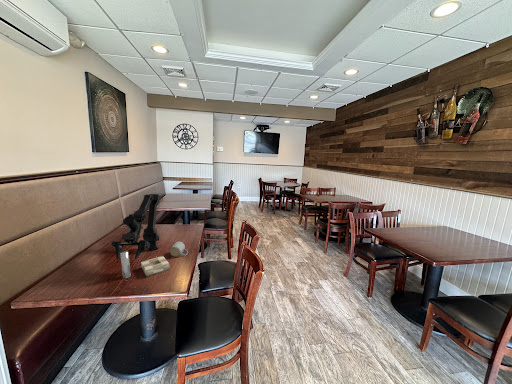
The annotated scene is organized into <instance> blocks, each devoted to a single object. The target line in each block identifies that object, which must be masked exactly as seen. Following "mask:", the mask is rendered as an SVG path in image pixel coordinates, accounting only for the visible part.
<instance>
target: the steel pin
mask: <svg viewBox="0 0 512 384" xmlns="http://www.w3.org/2000/svg"><path fill="white" fill-rule="evenodd" d="M120 254H121V255H120V263H121V273H122V278H123V279H128V278H130V277H131V275H132V274H131V265H130V264H131V263H130V255H129V254H130V253H129V250H122V252H121V253H120Z"/></svg>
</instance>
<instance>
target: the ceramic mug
mask: <svg viewBox="0 0 512 384" xmlns="http://www.w3.org/2000/svg"><path fill="white" fill-rule="evenodd" d="M183 252H185V253H183ZM169 253H170V255H171V256H172V257H176V258H177V257H179V256H180V255H181V256H184V257H185V256H187V255H188V254H189V251H188V250H187V248H186V245H185V244H184V242H182V241H179V240H178V241H176V242H174V244H173V245H172V246H171V247H170V250H169Z"/></svg>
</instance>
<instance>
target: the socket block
mask: <svg viewBox="0 0 512 384" xmlns="http://www.w3.org/2000/svg"><path fill="white" fill-rule="evenodd" d="M140 264H141V266H140V267H141V270H142V272H143V273H144V276H146V278H150V277H152V276H155V275H159V274H162V273H164V272H167V271H170V270H171V268H170V262H168V259H166V258H165V257H164V255H160V256H157V257H154V258H150V259H146V260H143V261H141V262H140Z"/></svg>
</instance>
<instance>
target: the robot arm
mask: <svg viewBox="0 0 512 384" xmlns="http://www.w3.org/2000/svg"><path fill="white" fill-rule="evenodd" d="M161 199H162V197H161V195H160V194H159V193H149V194H144V195H143V200H142V201H141V203H140V205H139V208H138V209H137V210H135V211H134V212H133V213H131V214H130V213H129V214H128V216H126V217H125V218H123V221H122V223H123V224H124V225H125V226H126V227H127V229H129V231H128V232H126V233H121V238H120V240H112V241H111V243H110V246H111V247H112V248H114V249H115V253H116V254H115V255H116V260H117V261H119V259H121V254H120V253H121V252H122V251H124V249H123V248H124V247H137V250H136V251H135V255H134V260H137V259H138V258H139V256H140V255H141V254H142V253H143V252H144V251H145V250H147V251H148V252H152V251H154V250H159V247H158V244H157V242H158V241H160V235H159V233H158V230H157V229H156V217H157V206H159V204H160V202H161ZM147 212H148V215H147ZM146 221H147V225H146V227H145V228H144V227H143V224H144V223H146ZM142 230H143V234H142V239H140V238H141V232H142ZM139 239H140V240H139Z"/></svg>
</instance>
